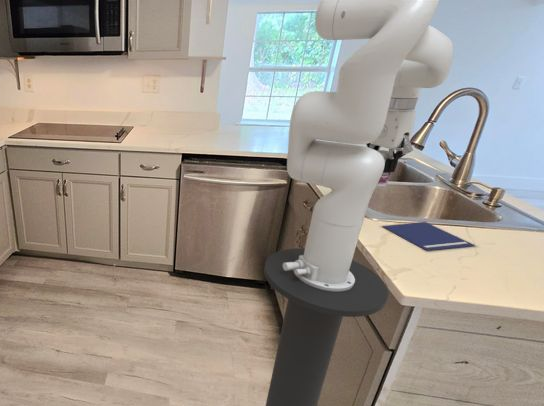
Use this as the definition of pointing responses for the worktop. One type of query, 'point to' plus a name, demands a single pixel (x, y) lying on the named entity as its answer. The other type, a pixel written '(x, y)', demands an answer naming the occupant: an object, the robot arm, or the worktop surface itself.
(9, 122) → the worktop surface
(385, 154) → the pill bottle
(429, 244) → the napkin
